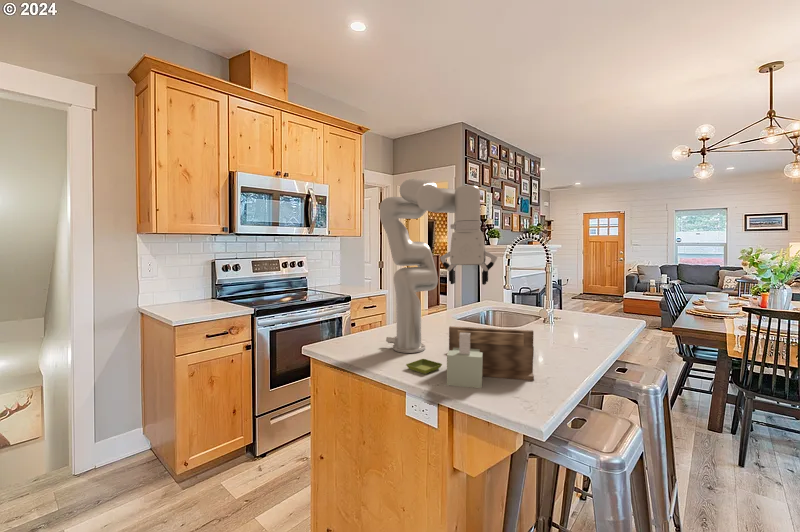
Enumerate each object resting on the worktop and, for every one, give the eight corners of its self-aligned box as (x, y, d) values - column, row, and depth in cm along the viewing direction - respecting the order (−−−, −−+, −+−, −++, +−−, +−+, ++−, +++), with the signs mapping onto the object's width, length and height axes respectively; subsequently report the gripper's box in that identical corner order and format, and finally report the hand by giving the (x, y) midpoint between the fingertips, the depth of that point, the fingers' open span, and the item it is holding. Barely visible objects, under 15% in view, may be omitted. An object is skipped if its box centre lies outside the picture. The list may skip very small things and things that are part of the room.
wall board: (447, 373, 126) (447, 330, 125) (449, 368, 131) (449, 326, 130) (533, 380, 120) (534, 334, 119) (532, 374, 125) (533, 330, 124)
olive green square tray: (425, 376, 124) (425, 370, 124) (405, 370, 130) (405, 364, 130) (442, 370, 130) (442, 364, 130) (423, 364, 137) (423, 358, 136)
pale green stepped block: (446, 385, 116) (446, 334, 115) (450, 375, 124) (450, 328, 123) (481, 388, 114) (482, 336, 113) (482, 377, 122) (483, 329, 121)
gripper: (436, 228, 120) (437, 284, 121) (494, 225, 113) (495, 285, 114) (443, 229, 127) (444, 282, 127) (498, 226, 120) (499, 283, 121)
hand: (468, 284), depth 121 cm, fingers open, 9 cm apart
